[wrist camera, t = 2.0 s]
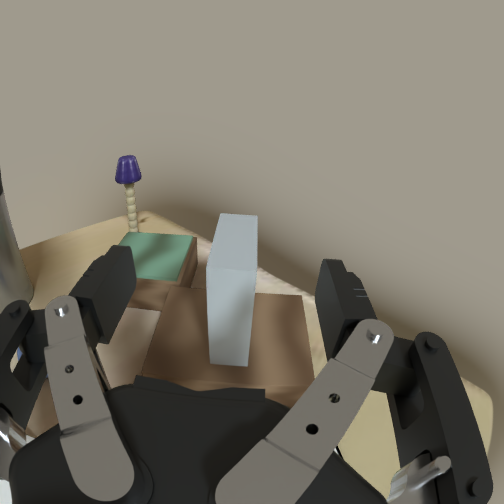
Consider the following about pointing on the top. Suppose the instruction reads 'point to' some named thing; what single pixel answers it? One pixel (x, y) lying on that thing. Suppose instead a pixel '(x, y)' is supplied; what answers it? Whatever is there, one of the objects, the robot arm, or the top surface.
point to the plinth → (160, 266)
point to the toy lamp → (129, 185)
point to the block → (231, 289)
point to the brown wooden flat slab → (260, 351)
